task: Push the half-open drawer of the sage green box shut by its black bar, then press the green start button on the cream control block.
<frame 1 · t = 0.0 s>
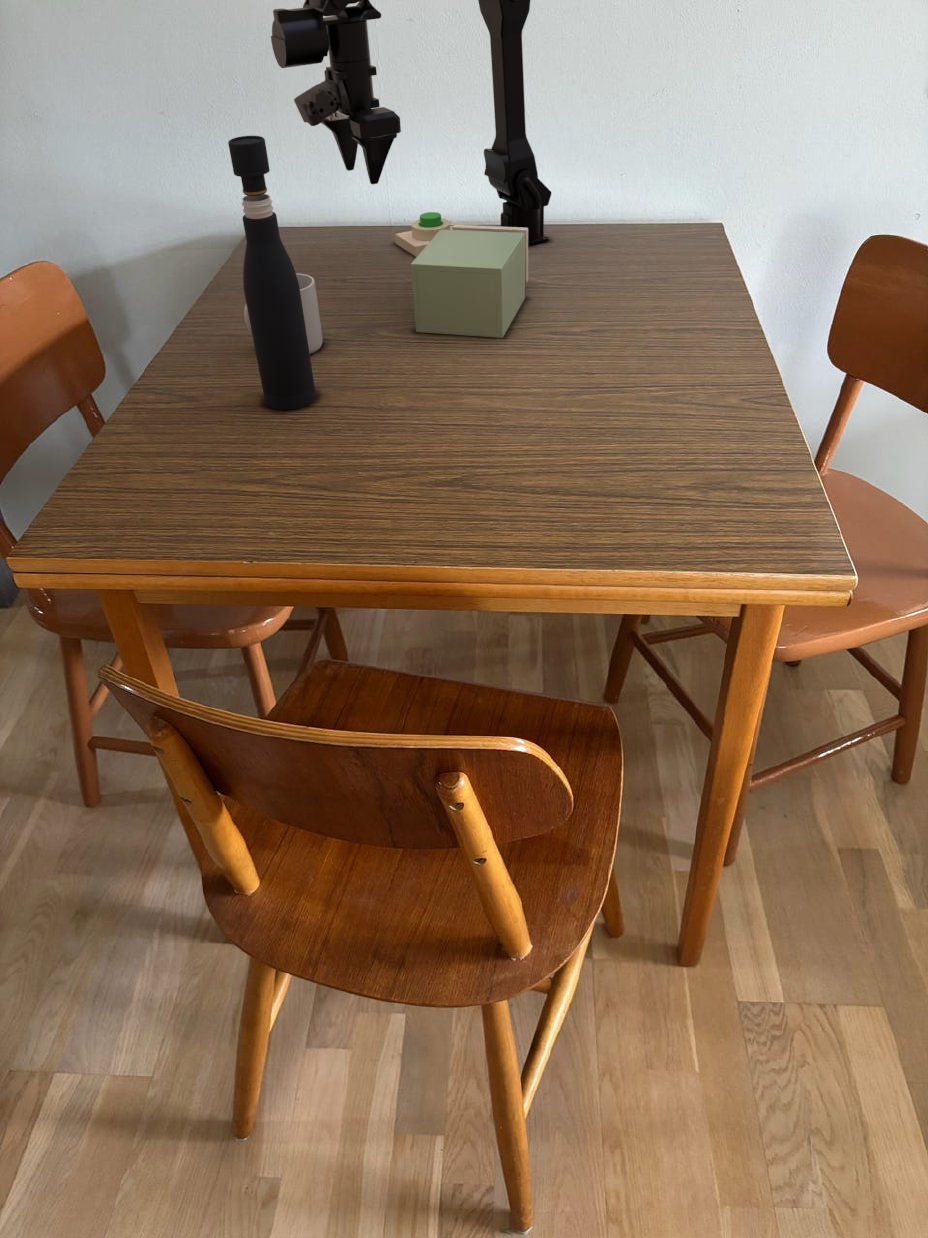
hand: (362, 176, 145), 15 cm above the table, tool pointing down, fingers open, 9 cm apart
black insulated water bottle: (290, 400, 121), on the table
start button: (430, 220, 161), point 4 cm above the table, slide at 0.1 cm
drawer: (483, 263, 142), point 5 cm above the table, slide at 4.0 cm
control block: (432, 244, 164), on the table
cup: (287, 349, 133), on the table
sage green box: (471, 314, 139), on the table
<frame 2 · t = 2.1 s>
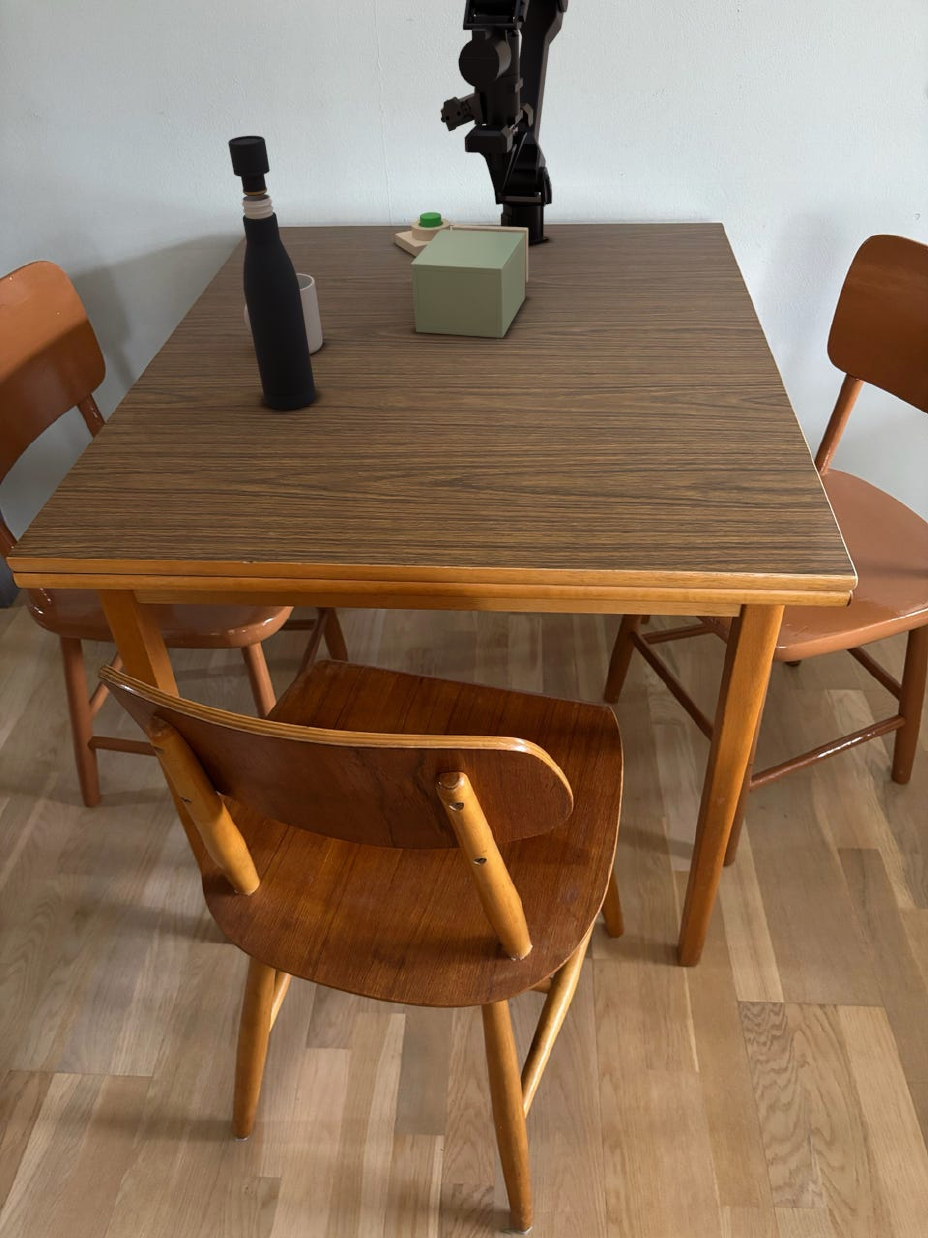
hand: (501, 188, 146), 12 cm above the table, tool pointing down, fingers open, 3 cm apart
nothing on the table moved.
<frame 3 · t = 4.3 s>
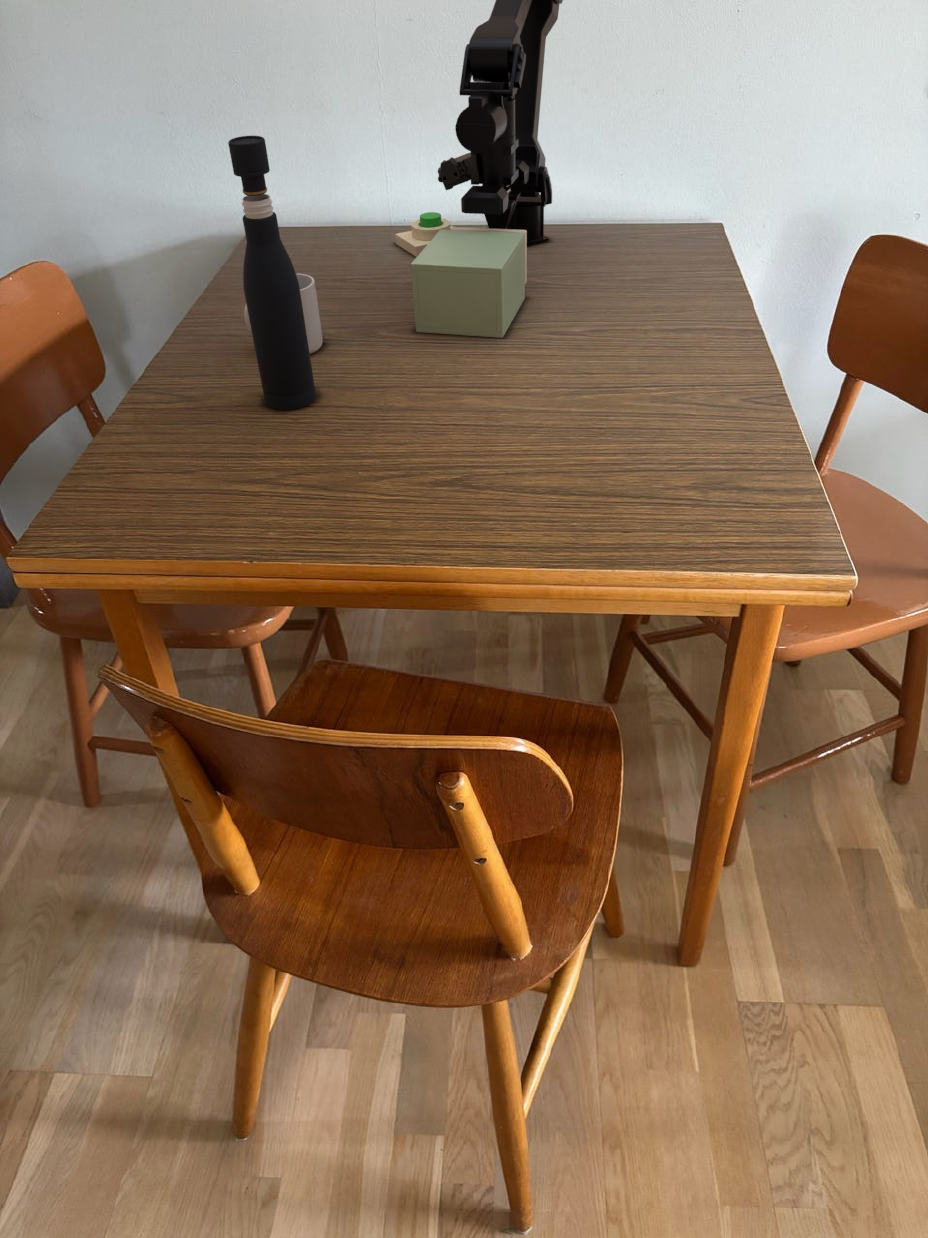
hand: (497, 244, 148), 5 cm above the table, tool pointing down, fingers closed
drawer: (482, 265, 141), point 5 cm above the table, slide at 2.9 cm, touching gripper
everything else where it was.
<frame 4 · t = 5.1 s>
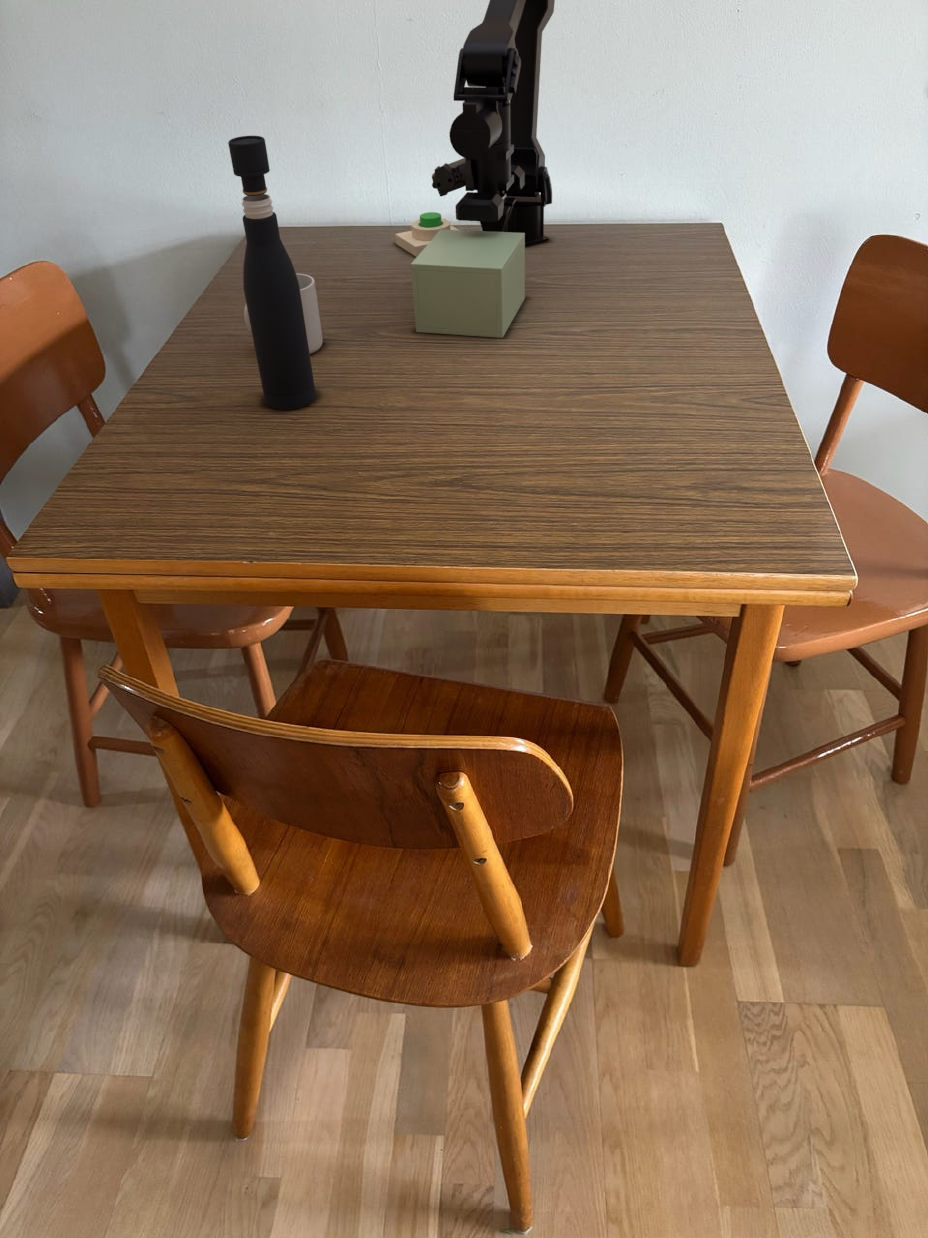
hand: (492, 251, 146), 5 cm above the table, tool pointing down, fingers closed
drawer: (477, 272, 139), point 5 cm above the table, slide at 0.0 cm, touching sage green box, gripper
everything else where it was.
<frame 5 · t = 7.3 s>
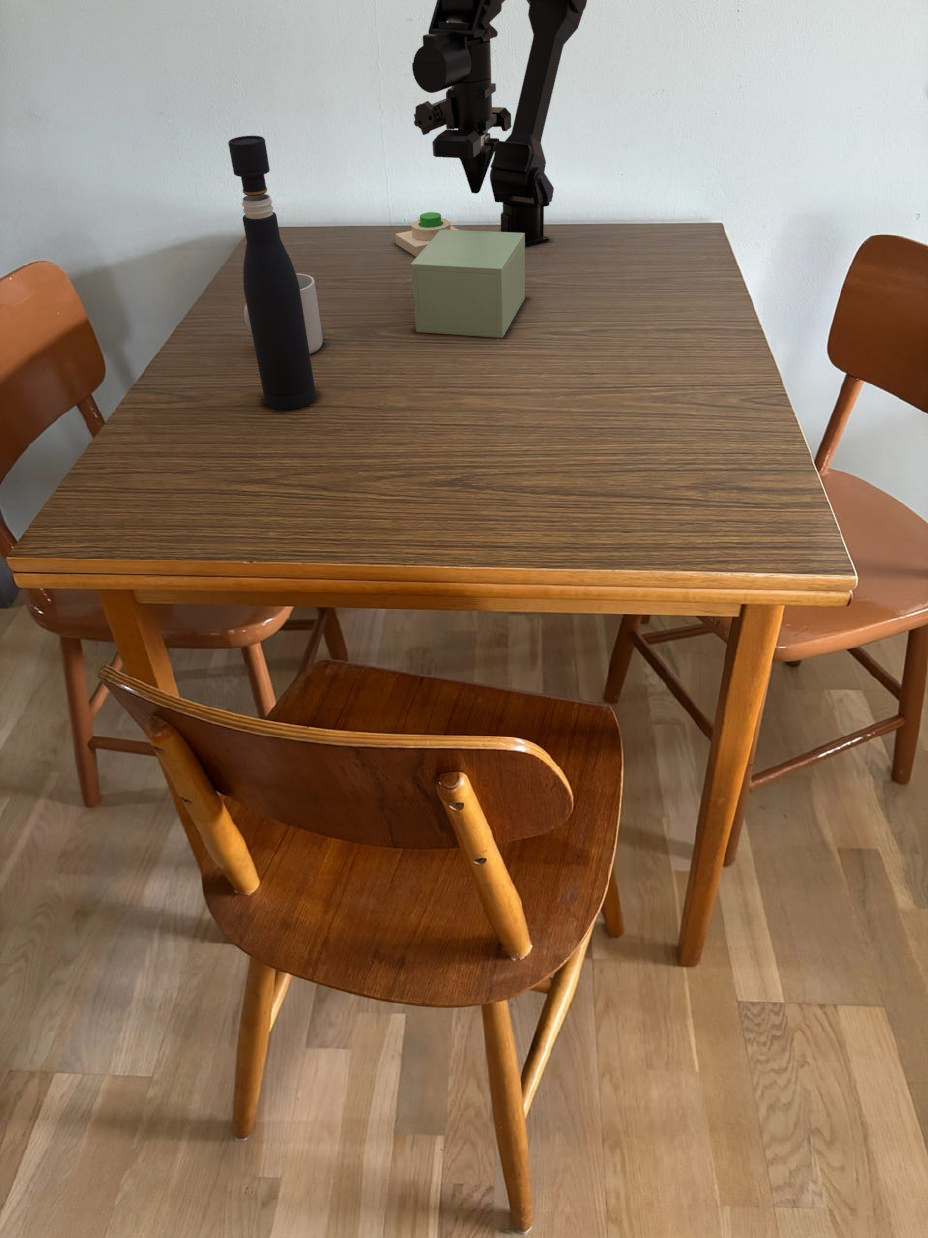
hand: (475, 192, 147), 11 cm above the table, tool pointing down, fingers closed
drawer: (477, 272, 139), point 5 cm above the table, slide at 0.0 cm
everything else where it was.
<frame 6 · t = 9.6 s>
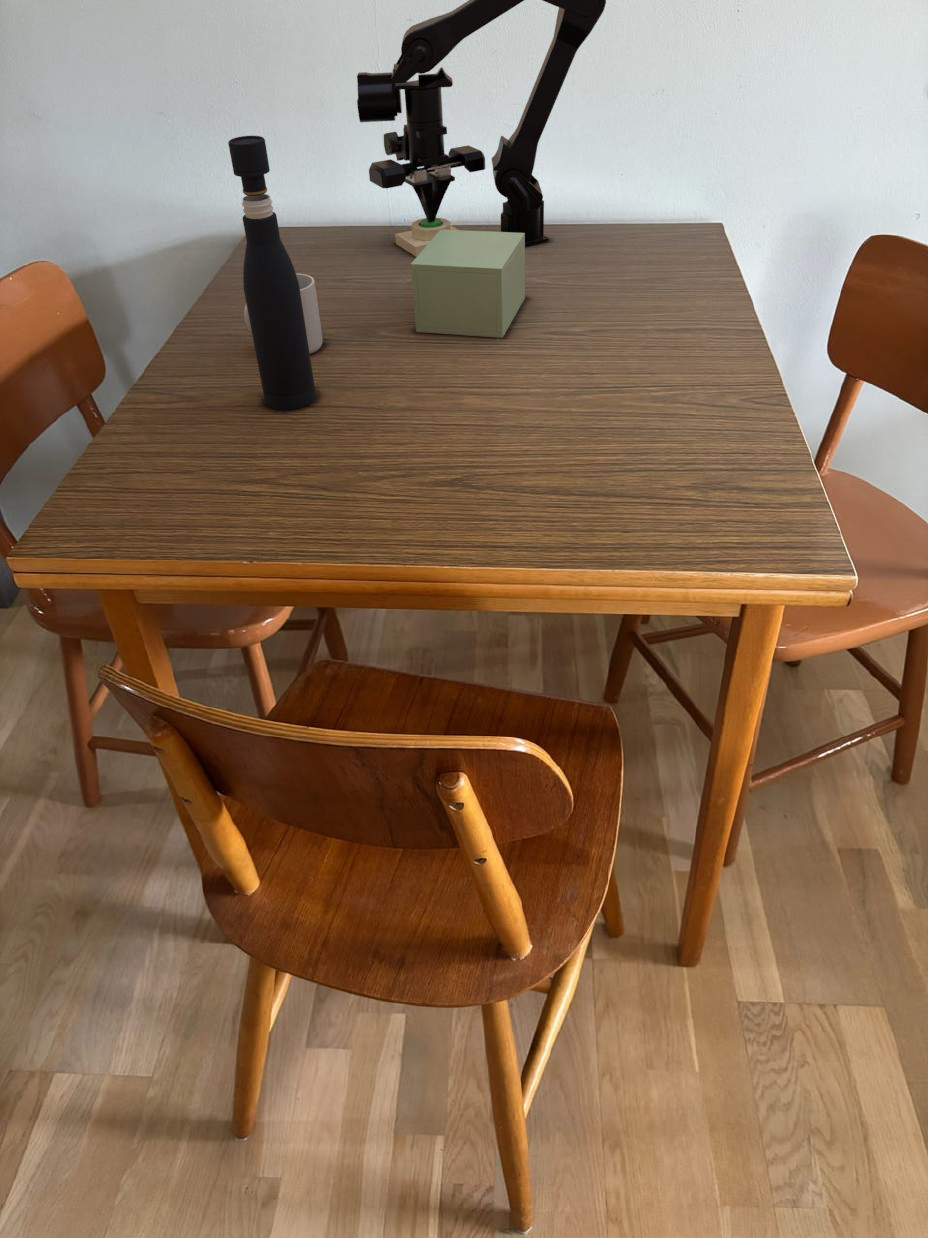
hand: (431, 220, 161), 4 cm above the table, tool pointing down, fingers closed, pressing on start button
start button: (431, 226, 162), point 3 cm above the table, slide at -0.8 cm, touching gripper
everything else where it was.
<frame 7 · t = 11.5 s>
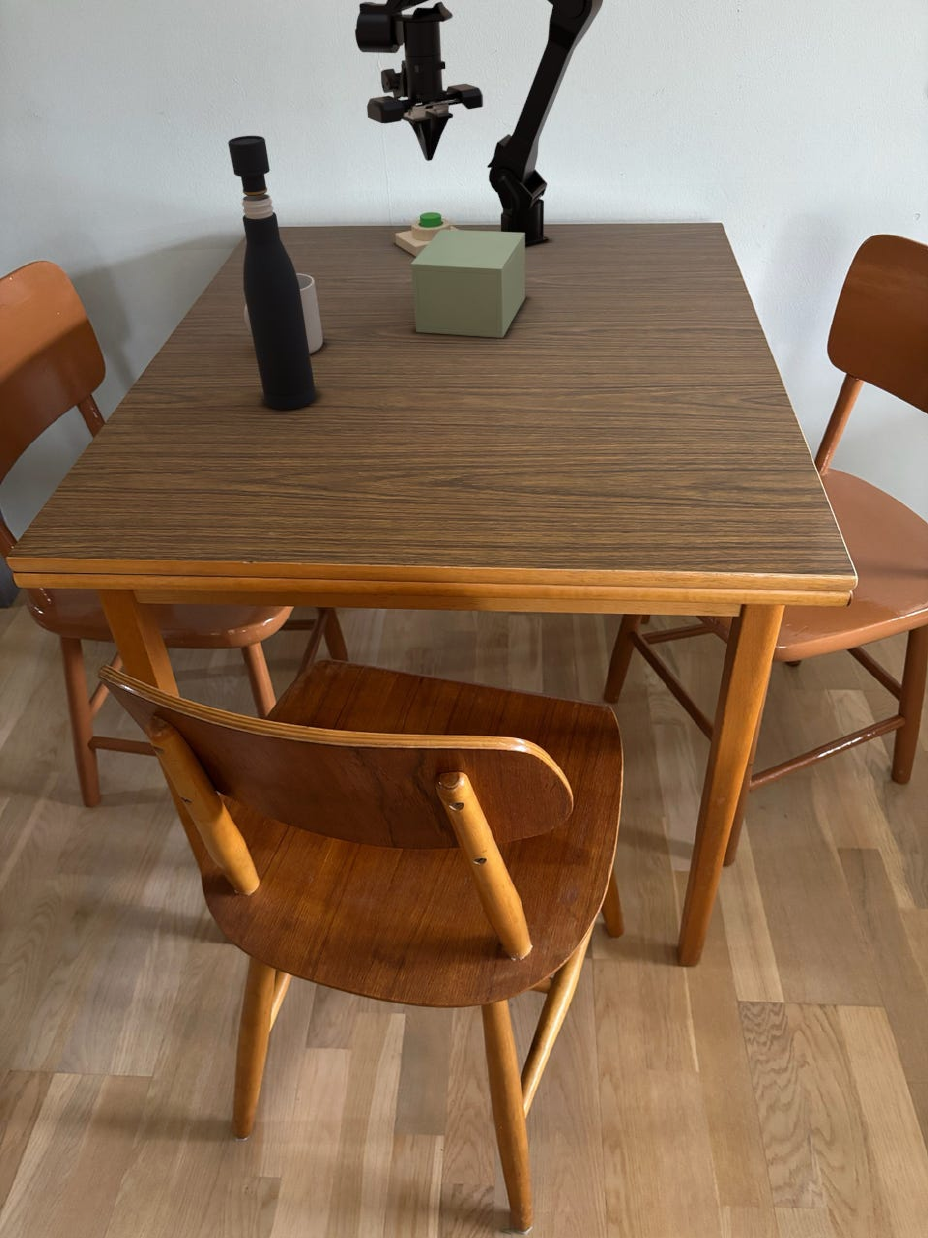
hand: (428, 159, 161), 12 cm above the table, tool pointing down, fingers closed
start button: (430, 220, 161), point 4 cm above the table, slide at 0.1 cm
everything else where it was.
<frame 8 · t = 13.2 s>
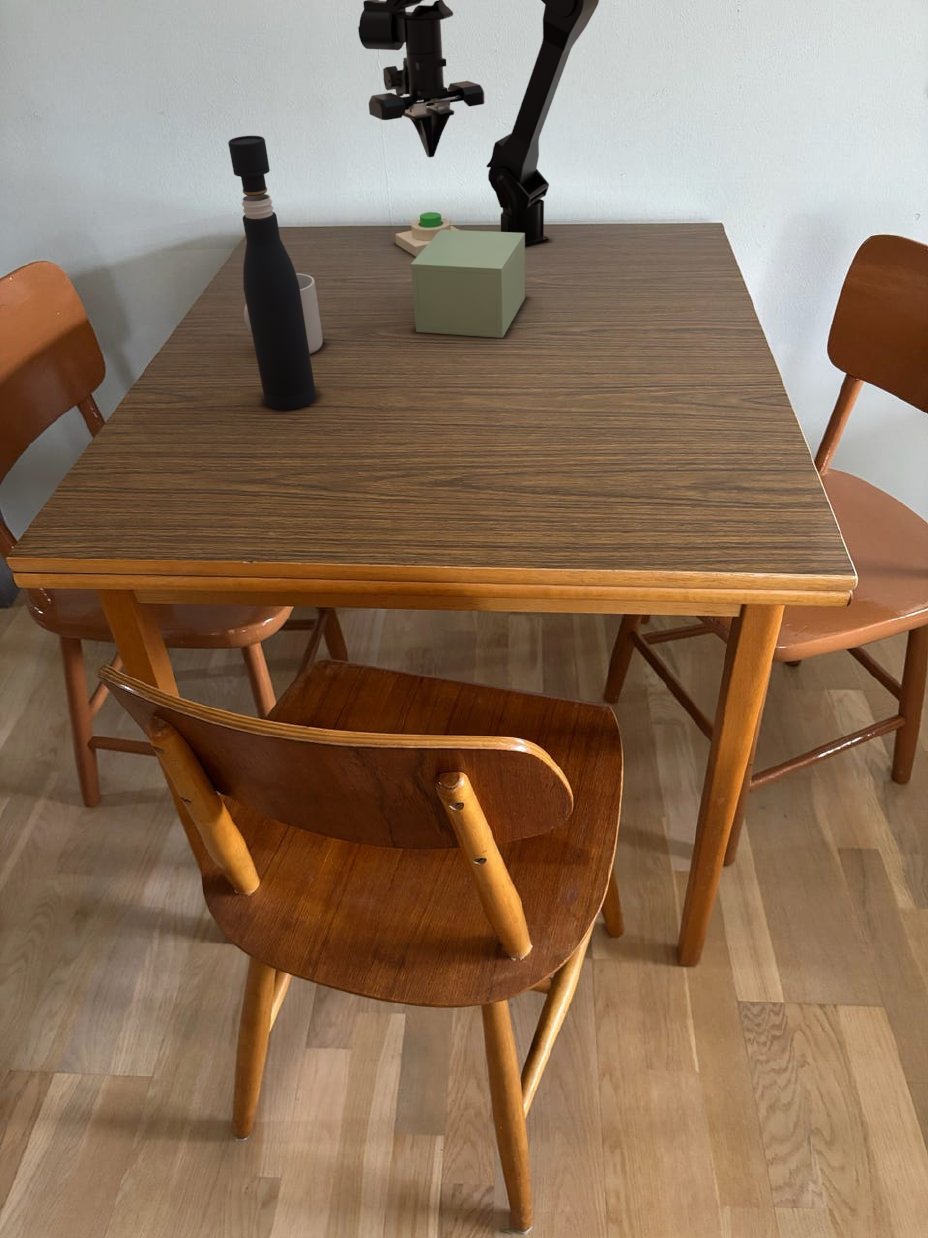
hand: (430, 156, 162), 12 cm above the table, tool pointing down, fingers closed
nothing on the table moved.
at the end: drawer slide at 0.0 cm; start button pushed in 1.2 cm at the most during the clip, back to where it started at the end; start button slide at 0.1 cm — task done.
